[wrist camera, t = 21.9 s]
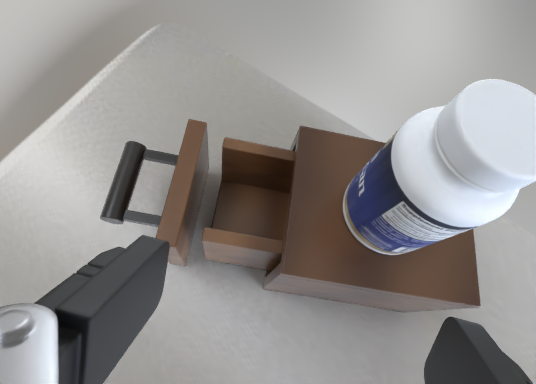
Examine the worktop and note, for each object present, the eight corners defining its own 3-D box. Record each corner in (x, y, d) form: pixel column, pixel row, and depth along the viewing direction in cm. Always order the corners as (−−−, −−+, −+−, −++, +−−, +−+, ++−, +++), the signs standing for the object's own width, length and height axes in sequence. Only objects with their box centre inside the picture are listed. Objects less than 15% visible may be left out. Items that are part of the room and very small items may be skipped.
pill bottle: (356, 157, 22) (456, 39, 13) (433, 194, 21) (590, 101, 12) (326, 230, 20) (420, 150, 11) (411, 272, 19) (582, 227, 10)
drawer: (112, 254, 25) (76, 230, 18) (144, 154, 28) (123, 105, 22) (307, 286, 26) (335, 274, 20) (316, 187, 29) (343, 149, 23)
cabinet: (262, 289, 26) (281, 273, 18) (278, 178, 30) (300, 125, 22) (403, 312, 27) (481, 307, 19) (402, 201, 31) (467, 159, 23)
